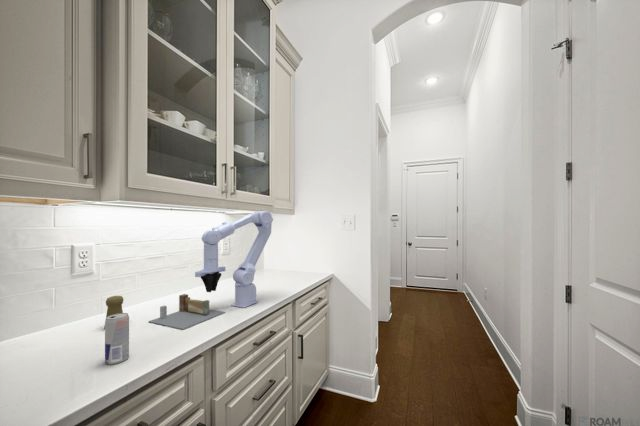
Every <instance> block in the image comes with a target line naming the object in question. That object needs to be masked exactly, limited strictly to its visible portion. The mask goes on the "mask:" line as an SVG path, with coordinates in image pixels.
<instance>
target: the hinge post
mask: <svg viewBox="0 0 640 426" xmlns="http://www.w3.org/2000/svg"><path fill="white" fill-rule="evenodd" d="M187 297H189V294H187V293H184V294H180V295H179V297H178V298H179V299H178V300H179V303H178V310H179V311H180V312H185V298H187Z"/></svg>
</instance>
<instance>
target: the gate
mask: <svg viewBox="0 0 640 426" xmlns="http://www.w3.org/2000/svg"><path fill="white" fill-rule="evenodd" d="M209 309H210V300H209V299H206V300H201V299H200V300H199V299H194V298H193V299H192V298H191V297H189V296H188V297H187V298H185V311H191V312H196V313H202V314H208V313H209Z"/></svg>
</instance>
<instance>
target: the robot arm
mask: <svg viewBox="0 0 640 426" xmlns="http://www.w3.org/2000/svg"><path fill="white" fill-rule="evenodd" d="M273 220H274V218H273V216H272V214H271V212H270V211H268V210H262V211H261V210H260V211H257V210H256V211H253V212H250V213H249V214H246V215H245V216H242V217H241V218H238V219H237V220H235V221H233V222H229V221H227V222H226V221H223V222H222V223H221V224H220V225H218V226H216V227H212V228H211V229H212V230H206V231H205V232H203V234H202V236H201V241H202V242H203V268H202V269H201V270H198V271H195V272H194V277H195V278H200V279H201V281H202V282H203V285H204V287H205V290H206V291H205V292H206V293H212V292H216V291H217V286H218V283H219V280H220V278H221V276H222V273H221V272H226V266H219V242H220V241H222V240H223V239H225V238H227V237H229V236H232V235H234V233H235V232H236V230H237V229H239V228H242V227H244V226H246V225H248V224H252V223H253V224H254V226H255V227H256V228H257V231H258V234H257V235H256V237H255V239H254V241H253V243H252V245H251V247H250V249H249V251H248V253H247V255H246V257H245V259H244V261H243V262H242V263H241V264H240V265H239V266H238V268H237V269H236V270H234V272H233V274H232V279H233V281H234V282H235V283H234V303H231V304H230V306H231V307H237V308H247V307H249V306H251V305H254V304H257V303H258V302H259V301H258V300H257V286H256V284H254V283H253V282H254V280H255V273H256V268H255V267H256V265H257V262H258V260H259V259H260V257H261V254H262V252H263V250H264V248H265V246H266V244H267V242H268V240H269V238H270V236H271V234H272V223H273Z"/></svg>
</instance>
